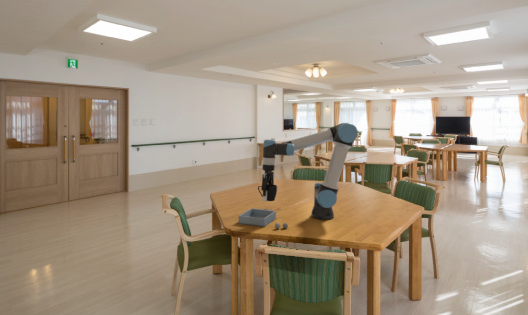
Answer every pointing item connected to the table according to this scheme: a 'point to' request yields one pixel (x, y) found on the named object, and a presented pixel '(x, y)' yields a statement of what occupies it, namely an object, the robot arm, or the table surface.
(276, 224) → the pebble
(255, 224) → the bin
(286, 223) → the pebble
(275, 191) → the mug
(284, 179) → the table surface
